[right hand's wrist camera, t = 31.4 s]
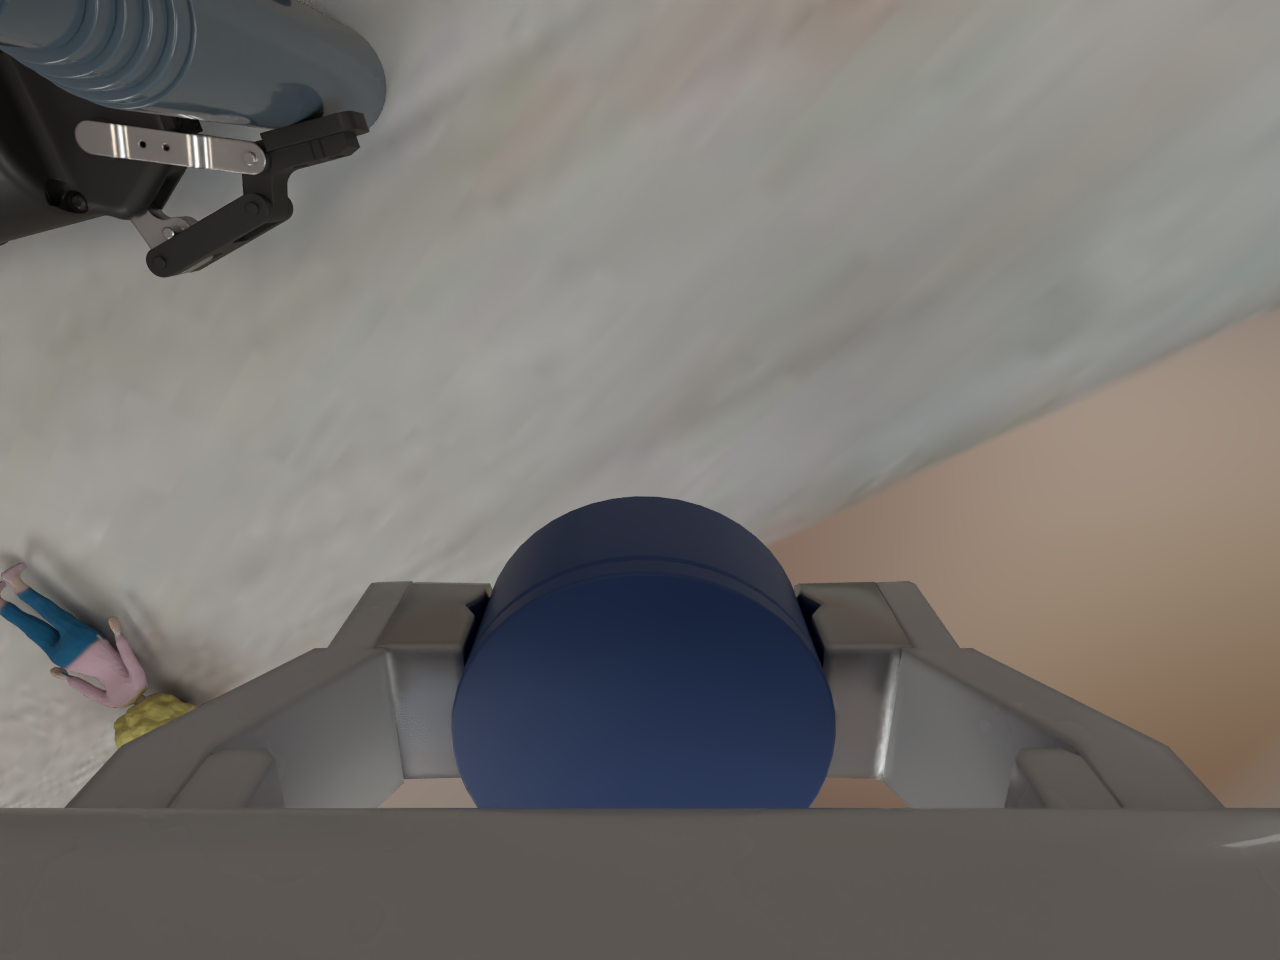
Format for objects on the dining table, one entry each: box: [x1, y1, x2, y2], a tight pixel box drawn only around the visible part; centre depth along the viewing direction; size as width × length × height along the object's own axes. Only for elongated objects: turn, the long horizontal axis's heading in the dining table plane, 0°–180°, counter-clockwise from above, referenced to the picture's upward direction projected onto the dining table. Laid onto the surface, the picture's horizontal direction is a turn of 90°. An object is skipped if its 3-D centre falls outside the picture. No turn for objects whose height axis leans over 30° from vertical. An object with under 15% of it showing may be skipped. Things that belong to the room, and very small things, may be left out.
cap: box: [451, 497, 836, 808], centre depth 9 cm, size 4×4×2 cm
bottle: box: [0, 0, 386, 130], centre depth 26 cm, size 5×5×22 cm
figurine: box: [0, 563, 197, 749], centre depth 46 cm, size 6×4×15 cm
